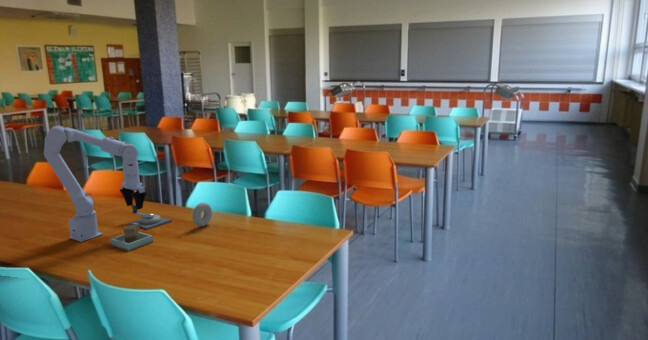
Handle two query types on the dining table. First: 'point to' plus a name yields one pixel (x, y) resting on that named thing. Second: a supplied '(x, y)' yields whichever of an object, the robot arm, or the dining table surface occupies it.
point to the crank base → (163, 221)
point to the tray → (122, 244)
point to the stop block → (131, 233)
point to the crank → (135, 211)
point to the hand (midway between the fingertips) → (134, 207)
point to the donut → (197, 214)
